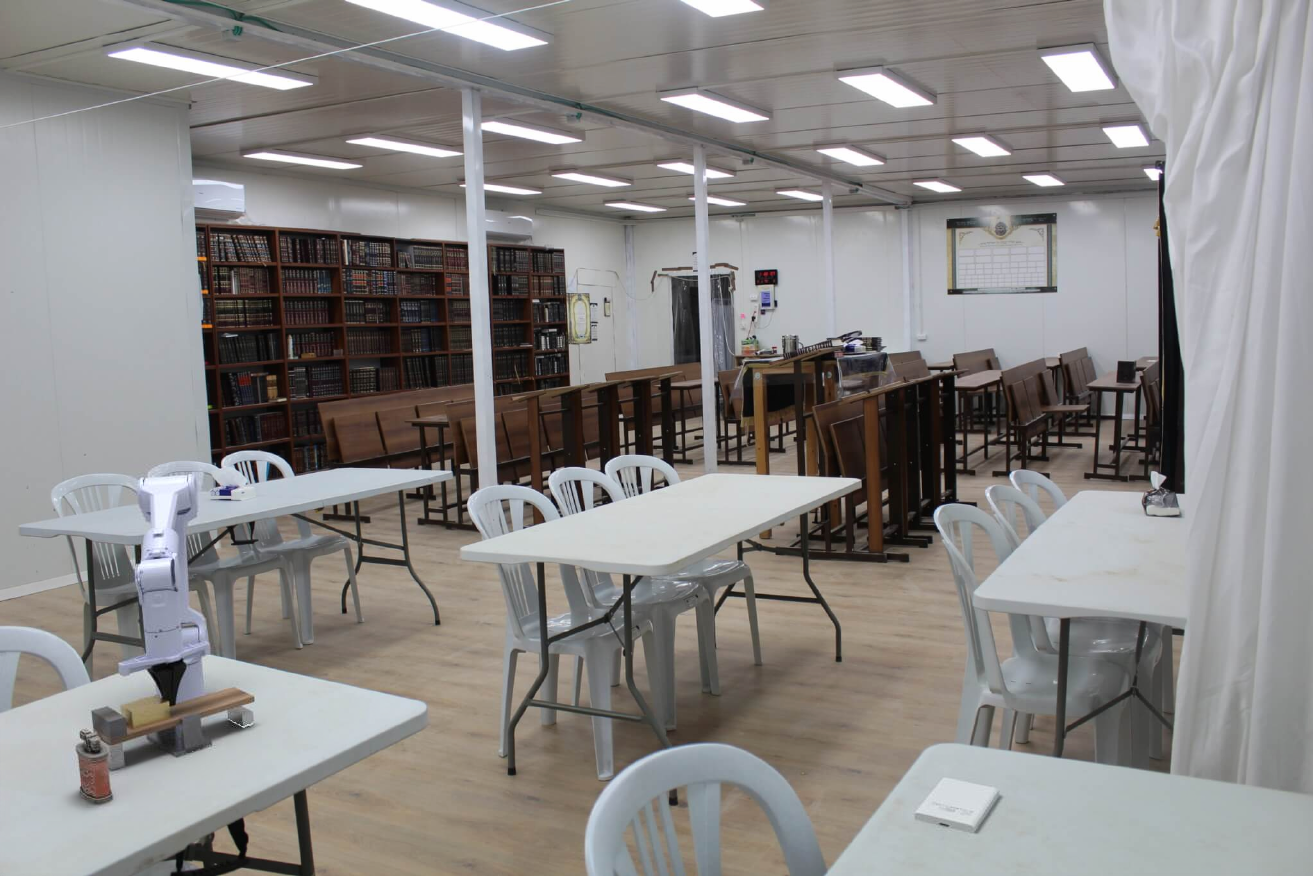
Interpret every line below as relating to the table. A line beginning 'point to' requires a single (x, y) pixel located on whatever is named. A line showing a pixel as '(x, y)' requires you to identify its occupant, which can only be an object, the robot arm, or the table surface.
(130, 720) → the block
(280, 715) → the table surface
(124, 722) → the beam
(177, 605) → the robot arm
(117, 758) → the stand
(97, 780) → the lighter
